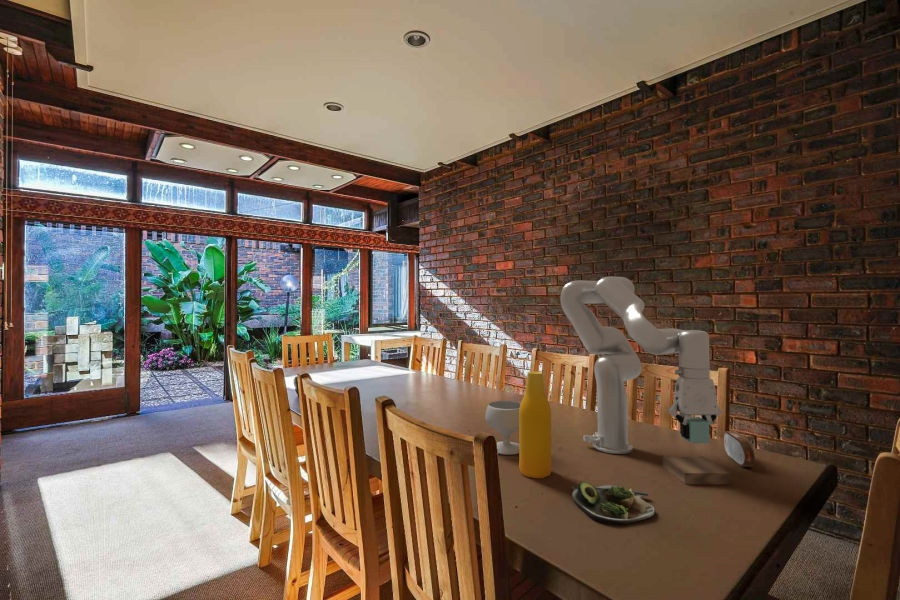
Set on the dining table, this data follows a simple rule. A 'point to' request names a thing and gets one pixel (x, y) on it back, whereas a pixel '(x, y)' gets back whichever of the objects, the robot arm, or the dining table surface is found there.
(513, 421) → the chalice
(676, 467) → the walnut base
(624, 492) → the salad plate
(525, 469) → the beer bottle
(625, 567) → the dining table surface
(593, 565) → the dining table surface
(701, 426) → the teal block
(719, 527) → the dining table surface
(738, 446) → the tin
